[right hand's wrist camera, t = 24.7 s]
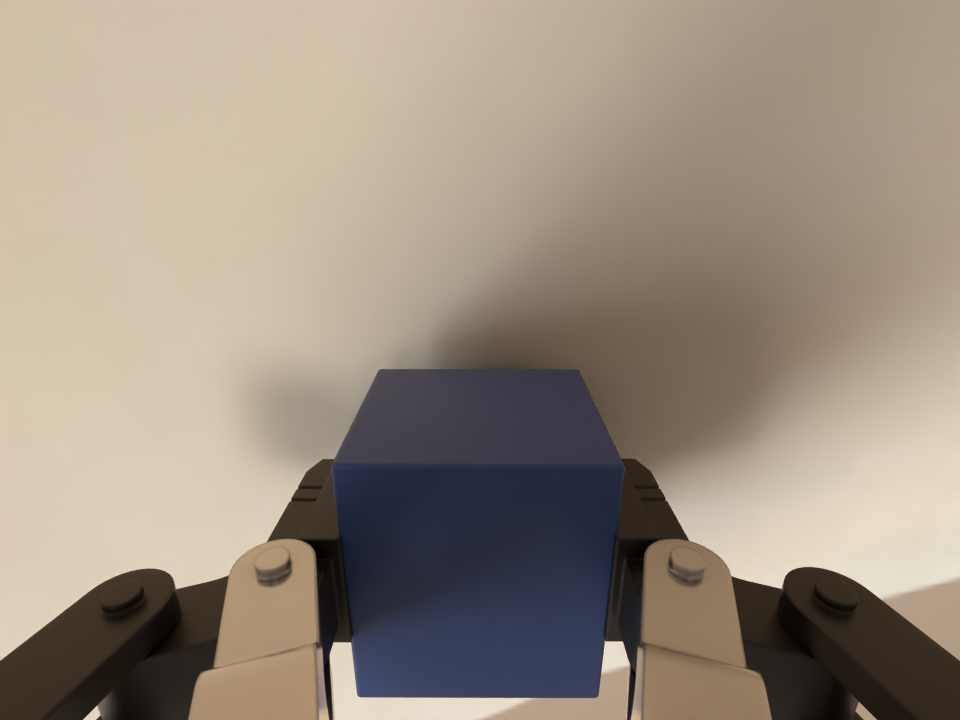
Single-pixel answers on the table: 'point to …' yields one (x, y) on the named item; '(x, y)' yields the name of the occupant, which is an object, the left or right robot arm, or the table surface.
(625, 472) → the right robot arm
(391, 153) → the table surface
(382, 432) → the block
